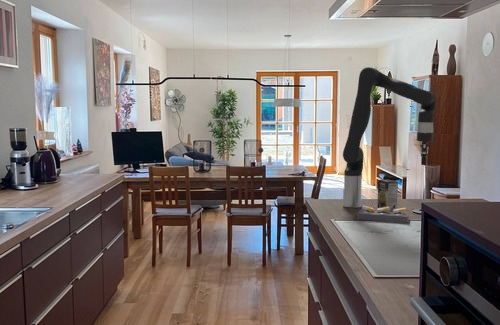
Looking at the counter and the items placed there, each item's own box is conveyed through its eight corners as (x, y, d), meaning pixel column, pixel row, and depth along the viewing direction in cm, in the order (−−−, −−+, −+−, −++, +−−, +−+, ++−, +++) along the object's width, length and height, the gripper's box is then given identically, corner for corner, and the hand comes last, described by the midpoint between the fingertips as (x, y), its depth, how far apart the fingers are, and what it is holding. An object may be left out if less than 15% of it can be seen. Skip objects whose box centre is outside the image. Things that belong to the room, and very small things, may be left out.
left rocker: (361, 209, 232) (362, 206, 232) (362, 208, 236) (363, 204, 235) (372, 213, 230) (373, 209, 230) (373, 211, 234) (374, 208, 234)
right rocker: (394, 214, 227) (393, 211, 227) (394, 213, 230) (393, 209, 230) (405, 212, 225) (404, 208, 225) (406, 210, 228) (405, 207, 228)
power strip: (357, 219, 228) (357, 212, 228) (359, 215, 237) (360, 209, 236) (407, 223, 220) (407, 216, 220) (408, 219, 228) (408, 212, 228)
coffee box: (376, 209, 251) (377, 179, 249) (387, 209, 253) (388, 179, 251) (386, 213, 242) (387, 181, 241) (397, 212, 244) (398, 181, 243)
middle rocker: (377, 213, 230) (377, 209, 230) (378, 211, 233) (377, 208, 233) (389, 211, 228) (388, 207, 228) (390, 209, 231) (389, 206, 231)
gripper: (417, 130, 244) (415, 162, 246) (416, 132, 230) (415, 165, 232) (432, 131, 241) (431, 163, 243) (433, 132, 228) (431, 165, 230)
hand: (423, 164), depth 238 cm, fingers open, 8 cm apart
